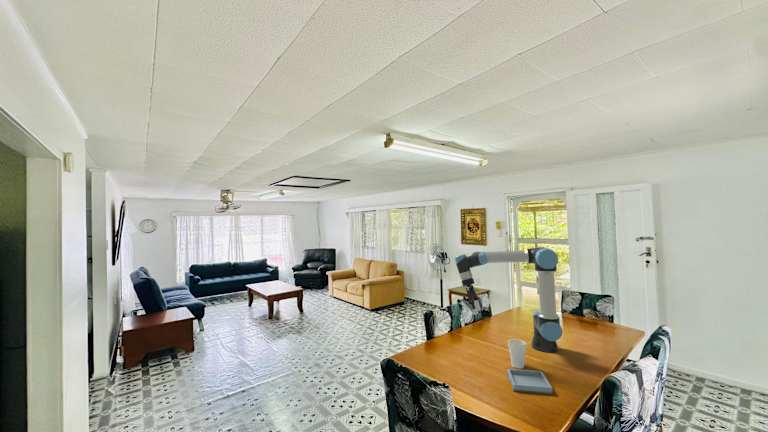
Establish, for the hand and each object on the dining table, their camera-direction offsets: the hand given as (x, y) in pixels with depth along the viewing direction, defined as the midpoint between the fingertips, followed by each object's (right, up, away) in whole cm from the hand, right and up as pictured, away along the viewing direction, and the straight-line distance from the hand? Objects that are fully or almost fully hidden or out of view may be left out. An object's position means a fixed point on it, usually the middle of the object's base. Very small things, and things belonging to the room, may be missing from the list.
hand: (477, 312), depth 193 cm
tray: (+14, -23, -39) cm, 47 cm away
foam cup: (+17, -24, -19) cm, 35 cm away
